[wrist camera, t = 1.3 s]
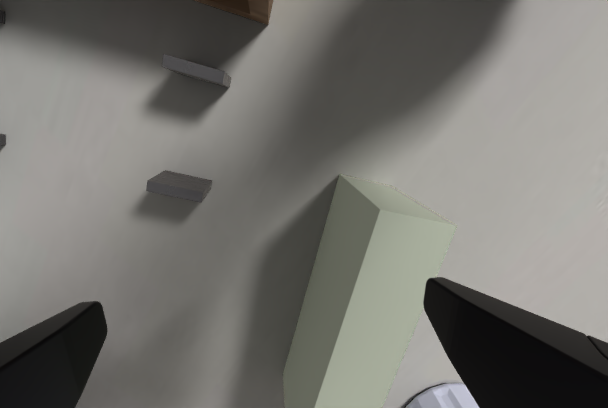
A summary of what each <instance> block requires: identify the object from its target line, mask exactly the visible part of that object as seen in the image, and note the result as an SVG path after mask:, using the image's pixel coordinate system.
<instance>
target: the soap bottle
mask: <svg viewBox="0 0 608 408" xmlns="http://www.w3.org/2000/svg"><path fill="white" fill-rule="evenodd" d="M405 408H479V406H478V405H477V403H476V402H475V400H474V398H473V397H472V395H471V394H470V392H469V390H468V389H467V387H466V385H464V384H461V383H450V384H443V385H439V386H436V387H432V388H430V389H428V390H426V391H425V392H423V393H421V394H419V395H418V396H416V397H415V398H414V399H413V400H412V401H411V402H410V403H409V404H408V405H407V406H406V407H405Z"/></svg>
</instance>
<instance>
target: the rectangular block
mask: <svg viewBox="0 0 608 408" xmlns="http://www.w3.org/2000/svg"><path fill="white" fill-rule="evenodd" d="M456 228H457V225H455V224H454V223H452V222H450V221H449V220H447V219H445V218H444V217H442V216H441V215H439V214H437V213H436V212H434V211H432V210H431V209H429V208H427V207H426V206H424V205H422V204H421V203H419V202H417V201H416V200H414V199H412V198H411V197H409V196H407V195H406V194H404V193H403V192H401V191H399V190H398V189H396V188H394V187H393V186H390V185H386V184H381V183H377V182H373V181H368V180H364V179H359V178H355V177H351V176H346V175H342V174H339V178H338V181H337V185H336V188H335V192H334V195H333V199H332V202H331V206H330V209H329V213H328V217H327V220H326V224H325V227H324V231H323V234H322V238H321V241H320V245H319V248H318V252H317V255H316V259H315V262H314V266H313V269H312V273H311V276H310V280H309V284H308V287H307V291H306V294H305V298H304V301H303V305H302V308H301V312H300V315H299V319H298V322H297V326H296V329H295V333H294V336H293V340H292V343H291V347H290V350H289V354H288V358H287V361H286V365H285V368H284V372H283V389H284V405H285V408H382V407H383V405H384V402H385V400H386V397H387V395H388V392H389V390H390V388H391V385H392V383H393V380H394V378H395V376H396V373H397V371H398V368H399V366H400V363H401V361H402V359H403V356H404V354H405V351H406V349H407V347H408V344H409V342H410V339H411V337H412V334H413V332H414V330H415V327H416V325H417V322H418V320H419V317H420V315H421V313H422V310H423V308H424V305H423V300H424V293H425V286H426V281H427V280H428V279H429V278H435V277H436V276H437V274H438V271H439V269H440V267H441V264H442V262H443V259H444V257H445V255H446V252H447V250H448V247H449V245H450V242H451V240H452V238H453V235H454V233H455V230H456Z"/></svg>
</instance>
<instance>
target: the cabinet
mask: <svg viewBox="0 0 608 408" xmlns="http://www.w3.org/2000/svg"><path fill="white" fill-rule="evenodd" d="M194 1H197V2H200V3H203V4H206V5H209V6H212V7H215V8H218V9H221V10H224V11H227V12H230V13H233V14H236V15H239V16H242V17H245V18H248V19H251V20H255V21H258V22H261V23H264V24H267V25H268V23H269V18H270V13H271V8H272V4H273V0H194ZM0 23H3V24H5V12H4V11H1V10H0ZM162 67H164V68H167V69H169V70H171V71H174V72H176V73H179V74H182V75H186V76H189V77H193V78H196V79H200V80H203V81H207V82H210V83H214V84H217V85H221V86H224V87H228V88H229V87H230V82H231V77H230V76H229V75H228V74H227V73H226V72H224V71H221V70H217V69H214V68H210V67H207V66H204V65H200V64H197V63H193V62H190V61H186V60H183V59H180V58H176V57H173V56H169V55H166V54H163V62H162ZM0 145H5V135H4V134H0ZM211 184H212V181H211V180H207V179H202V178H198V177H193V176H189V175H184V174H180V173H175V172H171V171H166V170H165V171H163V172H161V173H160V174H158V175H156V176H155V177H153V178H151V179H150V180H148V182H147V190H146V191H149V192H154V193H159V194H163V195H168V196H173V197H178V198H183V199H187V200H192V201H197V202H202V201H203V199H204V198H205V197H206V195H207V194H208V192H209V191H210V189H211Z"/></svg>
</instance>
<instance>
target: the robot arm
mask: <svg viewBox="0 0 608 408" xmlns="http://www.w3.org/2000/svg"><path fill="white" fill-rule="evenodd" d="M423 305H424V309H425V312H426V314H427V316H428V318H429V320H430V322H431V324H432V326H433V328H434V330H435V332H436V334H437V336H438V338H439V340H440V342H441V344H442V346H443V348H444V350H445V352H446V354H447V356H448V358H449V359H450V361H451V363H452V364H453V366H454V368H455V369H456V371H457V373H458V374H459V376H460V377H461V379H462V381H463V382H464V384H465V385H466V387H467V389H468V390H469V392H470V394H471V395H472V397H473V398H474V400H475V402H476V403H477V405H478V406H479V408H608V343H606V342H604V341H601V340H599V339H596V338H594V337H591V336H586V335H585V334H584V333H581V332H579V331H576V330H574V329H571V328H569V327H566V326H564V325H561V324H559V323H556V322H554V321H551V320H548V319H546V318H543V317H541V316H538V315H536V314H533V313H531V312H528V311H526V310H523V309H521V308H518V307H516V306H513V305H511V304H508V303H506V302H503V301H501V300H498V299H496V298H493V297H491V296H488V295H486V294H483V293H481V292H478V291H476V290H473V289H471V288H468V287H465V286H463V285H460V284H458V283H455V282H453V281H450V280H448V279H445V278H443V277H435V278H429V279H428V280H427V281H426V286H425V293H424V300H423ZM106 336H107V324H106V320H105V316H104V311H103V307H102V305H101V303H100V302H98V301H93V302H82V303H79V304H77V305H75V306H73V307H71V308H69V309H67V310H65V311H63V312H61V313H59V314H57V315H55V316H53V317H51V318H49V319H47V320H45V321H43V322H41V323H39V324H37V325H35V326H33V327H31V328H29V329H27V330H25V331H23V332H21V333H19V334H17V335H15V336H13V337H11V338H9V339H7V340H5V341H3V342H1V343H0V408H75V406H76V404H77V402H78V400H79V398H80V396H81V394H82V392H83V390H84V388H85V386H86V383H87V381H88V379H89V376H90V374H91V371H92V369H93V367H94V364H95V362H96V360H97V357H98V355H99V353H100V350H101V348H102V346H103V343H104V341H105V339H106Z"/></svg>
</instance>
